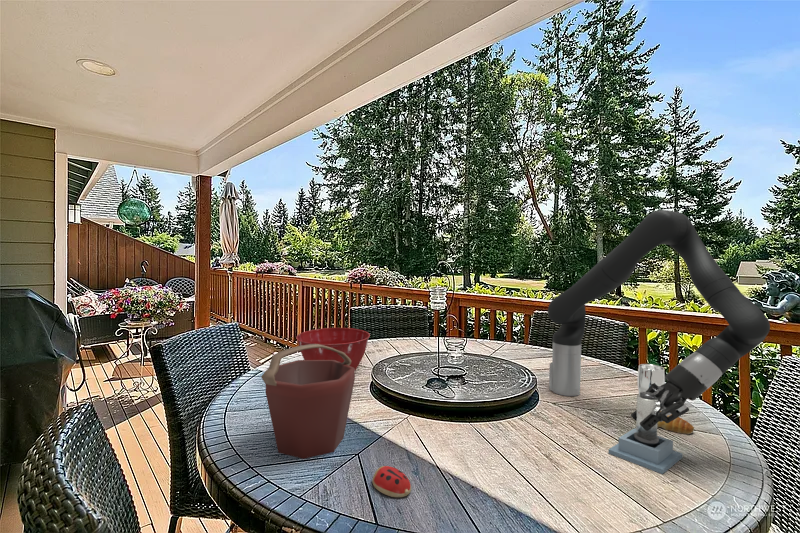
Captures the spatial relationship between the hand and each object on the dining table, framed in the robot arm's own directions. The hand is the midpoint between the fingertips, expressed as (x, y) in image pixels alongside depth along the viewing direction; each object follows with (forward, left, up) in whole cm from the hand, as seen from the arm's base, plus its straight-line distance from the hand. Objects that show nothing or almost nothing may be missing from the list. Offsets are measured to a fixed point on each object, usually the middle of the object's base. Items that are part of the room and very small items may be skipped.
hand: (638, 423), depth 103 cm
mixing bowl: (-103, -26, -8) cm, 106 cm away
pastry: (-1, +24, -8) cm, 26 cm away
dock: (+1, +1, -8) cm, 8 cm away
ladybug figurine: (-26, -55, -8) cm, 62 cm away
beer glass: (-8, +27, -8) cm, 30 cm away
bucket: (-56, -60, -8) cm, 82 cm away
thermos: (+1, +1, -5) cm, 5 cm away
